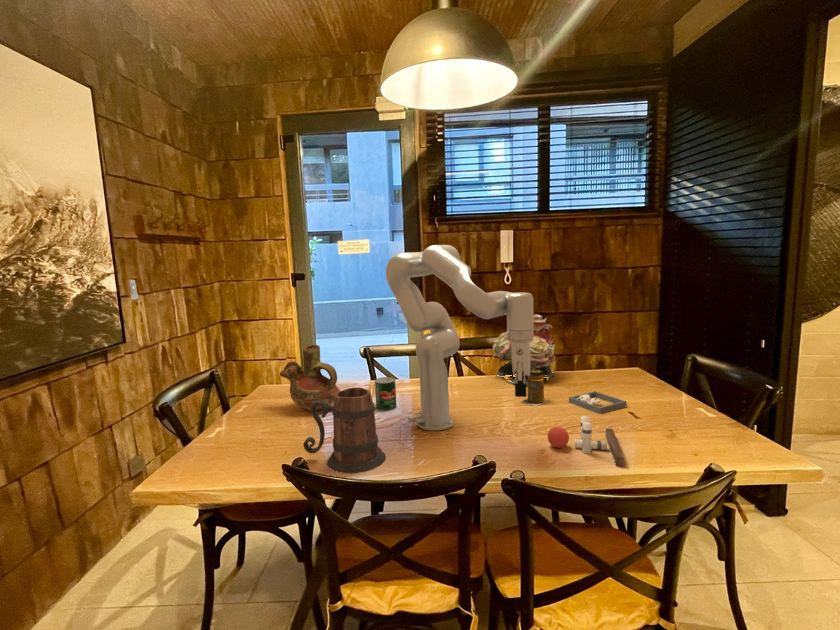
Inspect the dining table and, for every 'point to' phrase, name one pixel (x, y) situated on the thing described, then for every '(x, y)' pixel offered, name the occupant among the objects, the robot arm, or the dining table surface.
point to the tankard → (350, 432)
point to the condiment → (535, 388)
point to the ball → (558, 437)
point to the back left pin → (584, 419)
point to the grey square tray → (617, 404)
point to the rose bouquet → (538, 350)
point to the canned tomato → (385, 393)
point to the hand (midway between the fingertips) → (520, 395)
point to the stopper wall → (615, 447)
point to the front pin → (592, 444)
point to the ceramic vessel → (311, 380)
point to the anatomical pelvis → (588, 399)
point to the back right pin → (586, 437)
